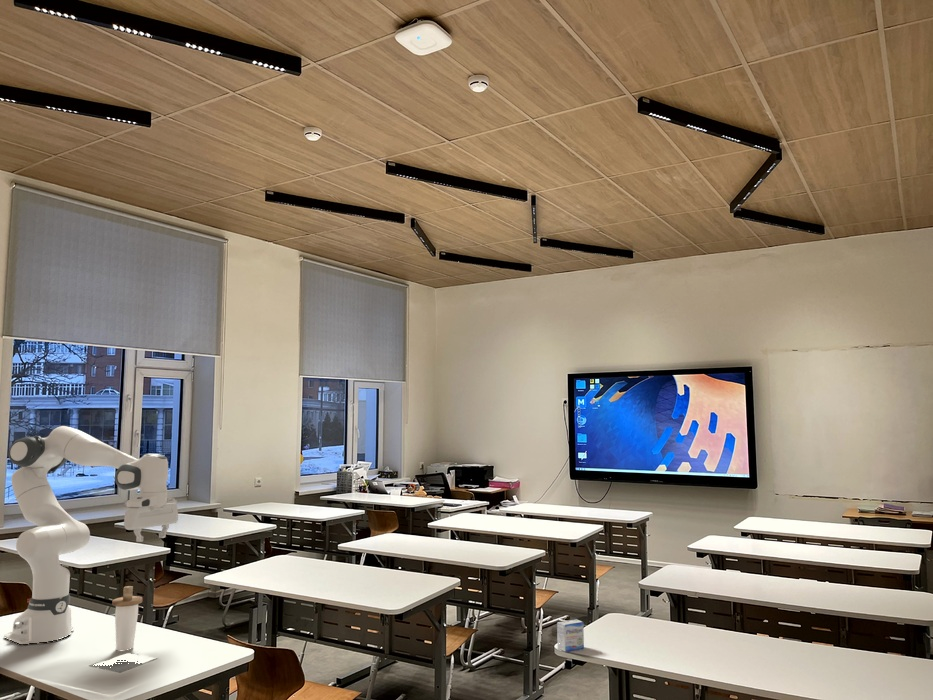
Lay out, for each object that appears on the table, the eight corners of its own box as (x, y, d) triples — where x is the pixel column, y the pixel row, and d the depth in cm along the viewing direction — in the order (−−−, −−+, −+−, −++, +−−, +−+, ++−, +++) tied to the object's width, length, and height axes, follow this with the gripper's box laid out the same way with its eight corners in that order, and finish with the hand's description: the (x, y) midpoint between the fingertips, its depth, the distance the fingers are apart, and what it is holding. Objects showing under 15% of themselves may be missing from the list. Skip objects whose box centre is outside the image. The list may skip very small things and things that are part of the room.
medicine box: (565, 652, 219) (564, 625, 220) (557, 648, 223) (556, 621, 224) (584, 648, 223) (583, 621, 224) (576, 645, 227) (575, 618, 228)
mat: (88, 667, 206) (88, 665, 206) (127, 653, 218) (127, 652, 218) (120, 673, 200) (120, 672, 200) (158, 659, 213) (158, 657, 213)
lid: (105, 604, 221) (106, 588, 222) (129, 598, 229) (130, 583, 230) (125, 607, 218) (126, 591, 218) (148, 601, 226) (149, 585, 227)
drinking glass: (120, 654, 217) (123, 606, 219) (108, 650, 221) (111, 603, 222) (140, 648, 223) (142, 602, 225) (128, 645, 226) (131, 599, 228)
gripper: (170, 496, 248) (168, 534, 246) (122, 502, 229) (119, 543, 228) (183, 497, 245) (181, 536, 244) (135, 502, 227) (132, 544, 225)
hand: (151, 539), depth 236 cm, fingers open, 8 cm apart
